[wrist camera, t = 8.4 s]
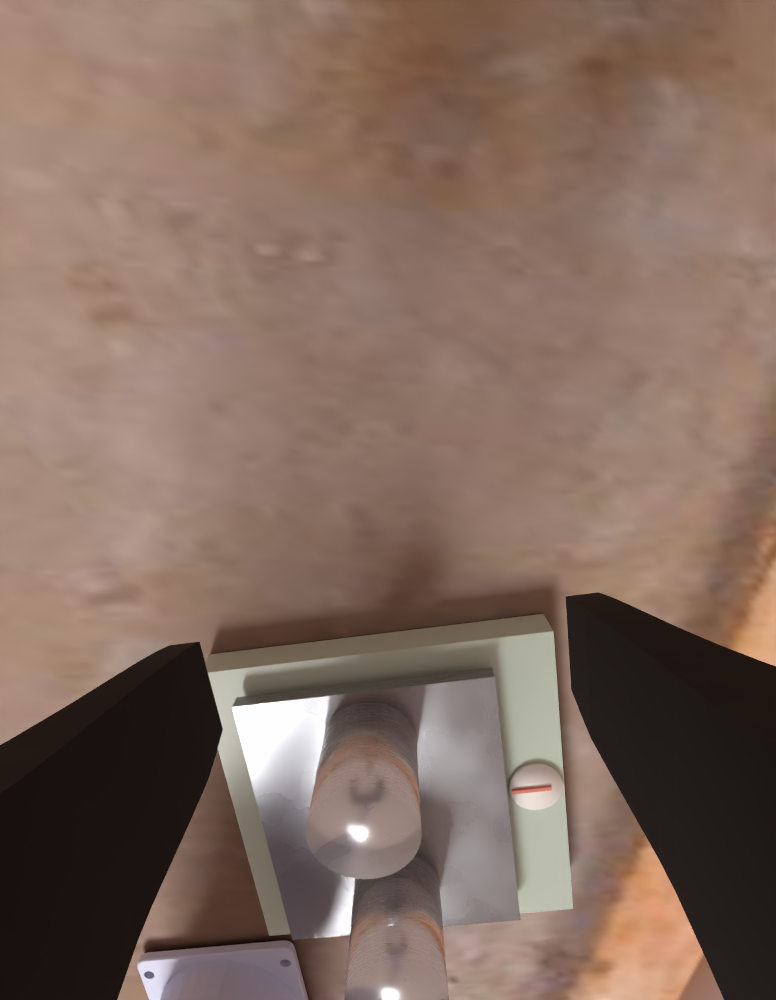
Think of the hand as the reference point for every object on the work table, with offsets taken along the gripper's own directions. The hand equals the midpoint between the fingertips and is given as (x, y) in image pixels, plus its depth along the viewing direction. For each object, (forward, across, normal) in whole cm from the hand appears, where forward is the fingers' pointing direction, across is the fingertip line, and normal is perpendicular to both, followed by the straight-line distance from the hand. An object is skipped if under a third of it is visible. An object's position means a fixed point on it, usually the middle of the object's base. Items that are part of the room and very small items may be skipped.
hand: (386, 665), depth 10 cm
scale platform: (+9, +2, +12) cm, 15 cm away
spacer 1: (+8, +2, +8) cm, 11 cm away
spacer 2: (+8, +2, +16) cm, 17 cm away
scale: (+10, +2, +12) cm, 16 cm away
